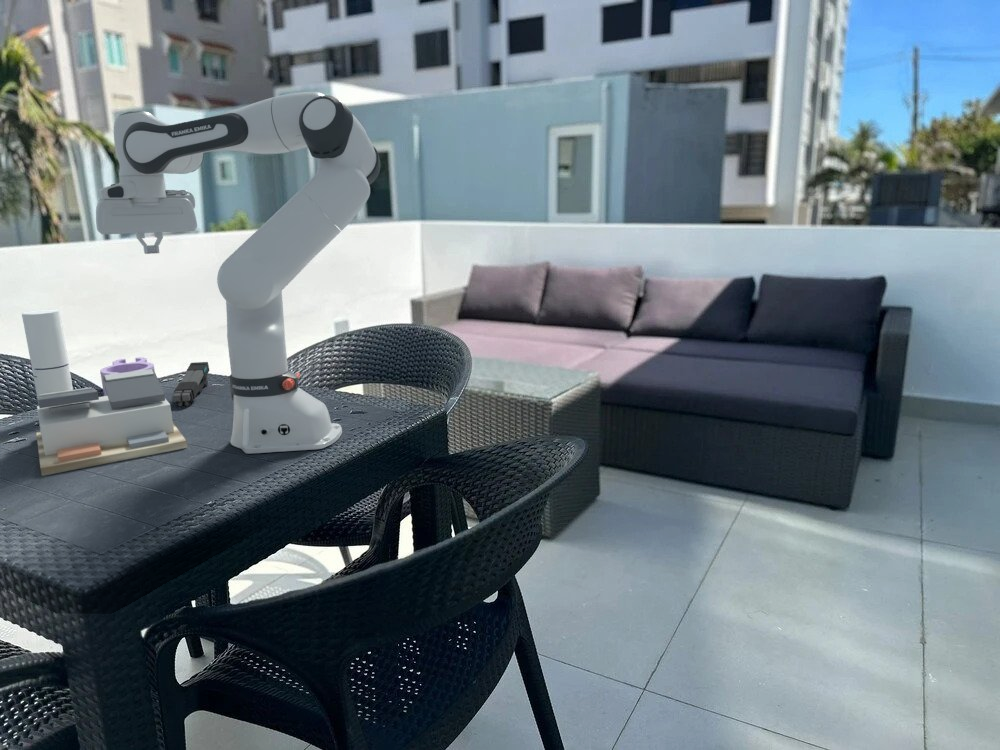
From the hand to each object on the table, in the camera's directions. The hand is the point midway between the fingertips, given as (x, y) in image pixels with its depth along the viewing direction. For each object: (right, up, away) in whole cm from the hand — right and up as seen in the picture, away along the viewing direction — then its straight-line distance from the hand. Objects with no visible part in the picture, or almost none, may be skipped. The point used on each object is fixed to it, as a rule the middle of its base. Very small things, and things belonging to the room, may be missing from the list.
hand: (152, 253), depth 159 cm
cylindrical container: (-24, -38, +4) cm, 45 cm away
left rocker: (-9, -32, -16) cm, 37 cm away
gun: (0, -33, +22) cm, 40 cm away
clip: (-19, -32, +28) cm, 47 cm away
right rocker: (+1, -30, -10) cm, 32 cm away
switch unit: (-2, -42, -13) cm, 44 cm away
